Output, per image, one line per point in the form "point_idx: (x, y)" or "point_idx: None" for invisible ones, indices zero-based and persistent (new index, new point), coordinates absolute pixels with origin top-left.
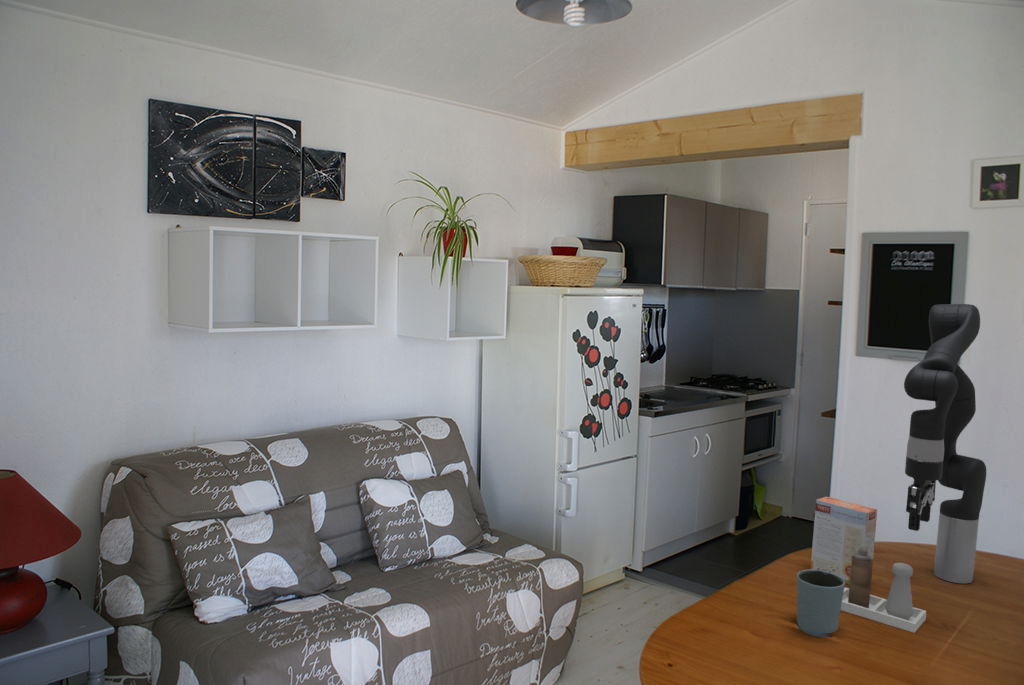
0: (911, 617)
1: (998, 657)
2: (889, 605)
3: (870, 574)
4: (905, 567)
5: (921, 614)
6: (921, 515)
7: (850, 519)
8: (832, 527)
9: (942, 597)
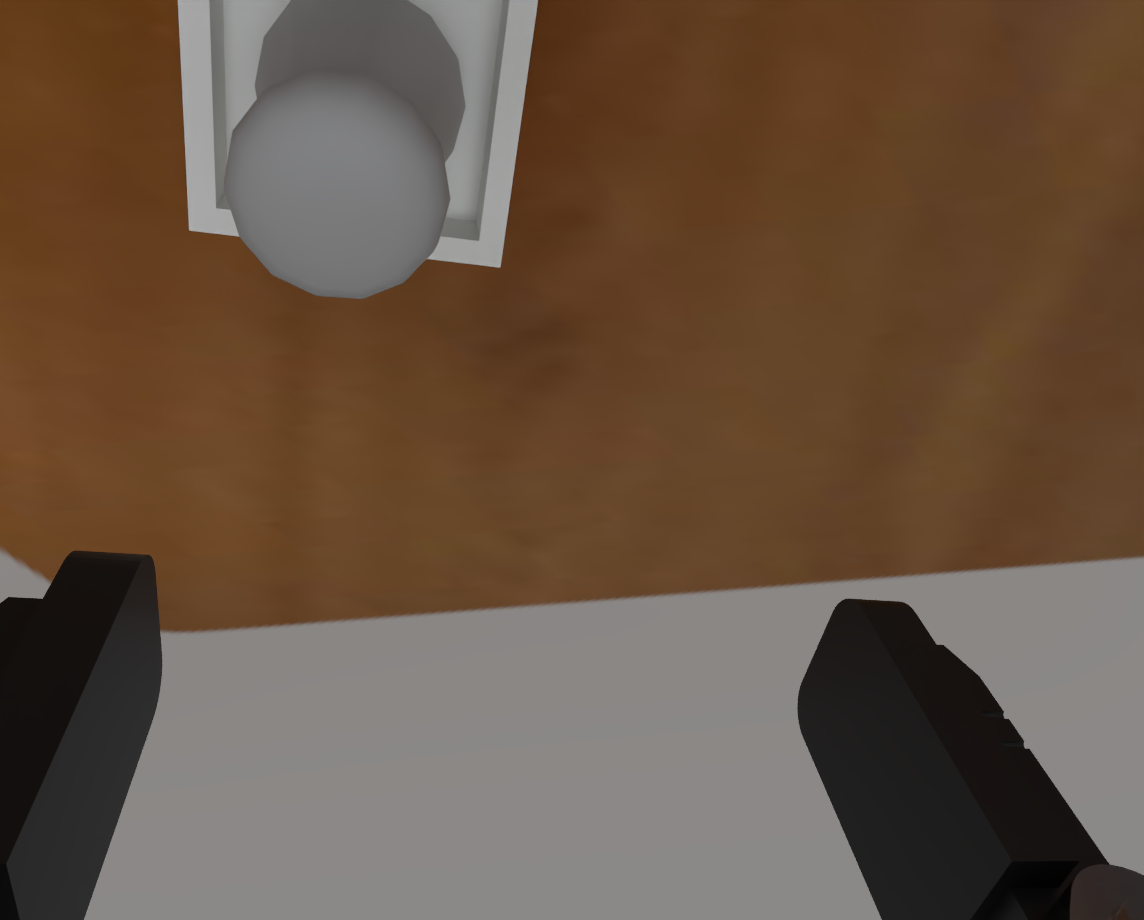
0: (462, 163)
1: (298, 571)
2: (276, 29)
3: None
4: (272, 241)
5: None
6: (871, 691)
7: None
8: None
9: (991, 278)
